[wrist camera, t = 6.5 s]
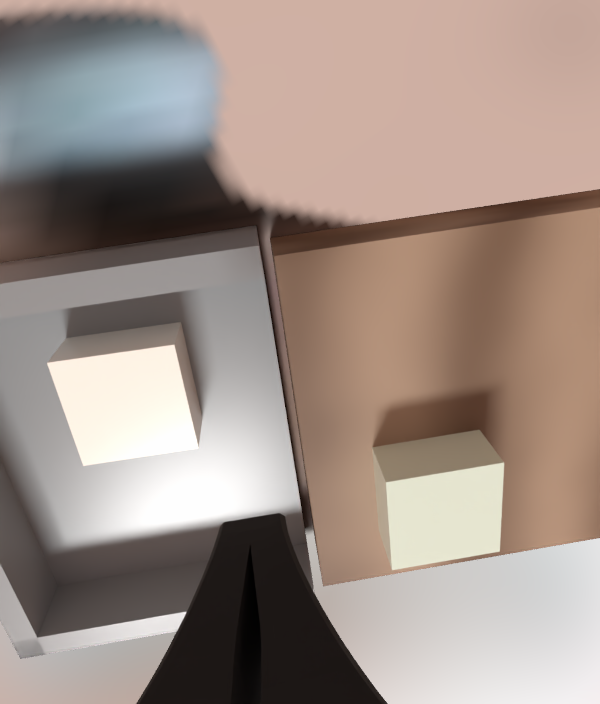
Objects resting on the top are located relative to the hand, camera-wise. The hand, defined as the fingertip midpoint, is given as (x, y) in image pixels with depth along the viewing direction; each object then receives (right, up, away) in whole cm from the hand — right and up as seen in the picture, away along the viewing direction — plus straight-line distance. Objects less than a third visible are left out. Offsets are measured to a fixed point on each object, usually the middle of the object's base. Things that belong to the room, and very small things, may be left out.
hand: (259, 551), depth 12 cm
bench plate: (+8, +3, +10) cm, 13 cm away
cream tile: (-5, +3, +6) cm, 8 cm away
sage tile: (+6, -1, +8) cm, 10 cm away
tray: (-6, +1, +9) cm, 11 cm away
